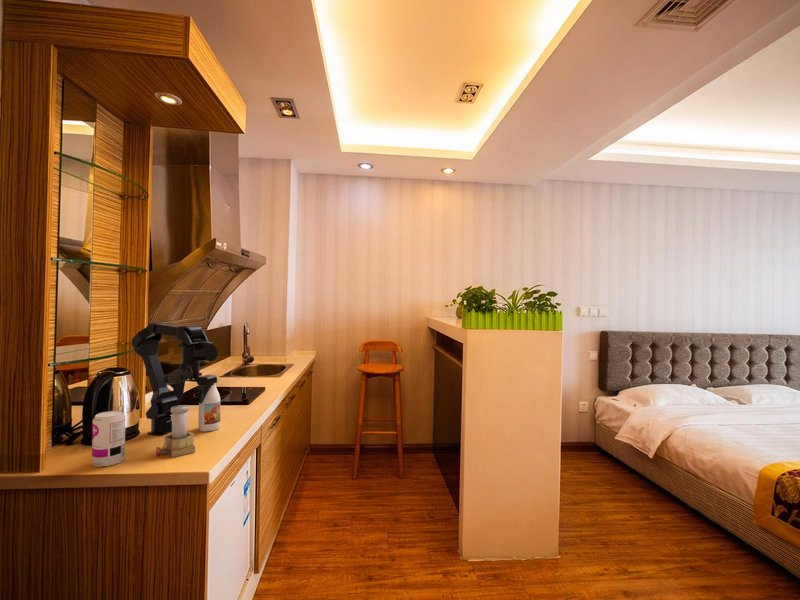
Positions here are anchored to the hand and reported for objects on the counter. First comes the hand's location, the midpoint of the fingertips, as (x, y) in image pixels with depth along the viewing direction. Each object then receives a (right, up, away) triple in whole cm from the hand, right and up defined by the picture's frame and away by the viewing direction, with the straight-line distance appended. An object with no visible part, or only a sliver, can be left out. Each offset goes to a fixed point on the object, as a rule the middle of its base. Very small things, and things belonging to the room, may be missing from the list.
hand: (190, 402), depth 145 cm
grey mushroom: (+3, -11, -12) cm, 17 cm away
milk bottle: (+2, -13, +11) cm, 17 cm away
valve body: (+1, -13, -12) cm, 18 cm away
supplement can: (-13, -13, -22) cm, 29 cm away
